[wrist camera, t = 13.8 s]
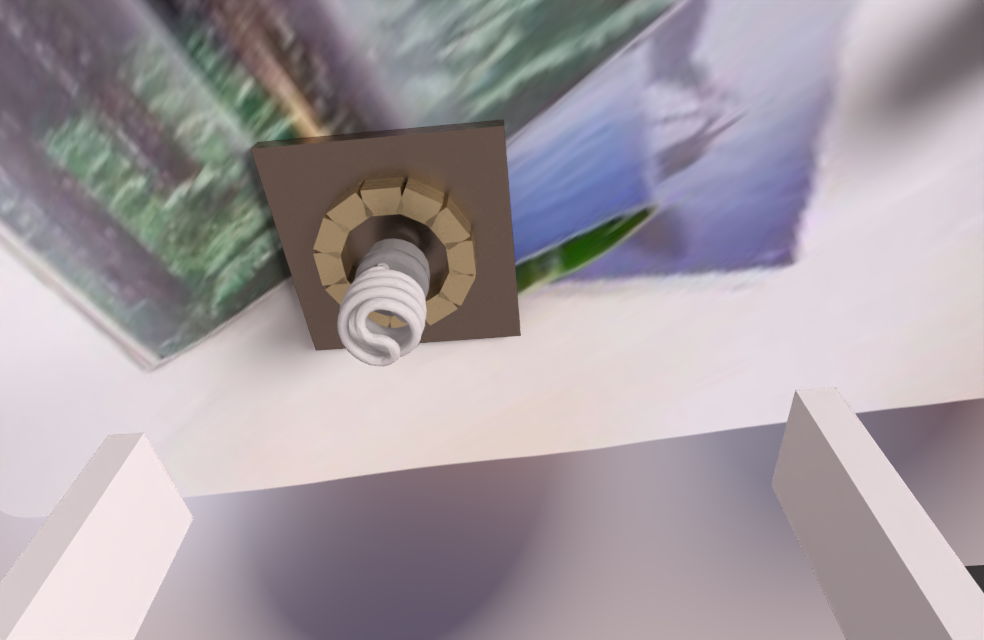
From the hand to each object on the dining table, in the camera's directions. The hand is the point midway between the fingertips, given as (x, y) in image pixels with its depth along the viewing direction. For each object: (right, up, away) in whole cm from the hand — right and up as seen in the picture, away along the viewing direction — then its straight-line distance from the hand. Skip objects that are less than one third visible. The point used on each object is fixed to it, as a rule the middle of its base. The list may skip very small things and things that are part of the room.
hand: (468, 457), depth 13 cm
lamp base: (-7, +9, +36) cm, 38 cm away
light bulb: (-7, +8, +35) cm, 36 cm away
